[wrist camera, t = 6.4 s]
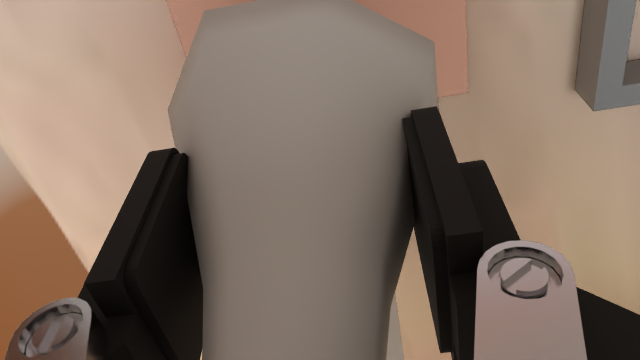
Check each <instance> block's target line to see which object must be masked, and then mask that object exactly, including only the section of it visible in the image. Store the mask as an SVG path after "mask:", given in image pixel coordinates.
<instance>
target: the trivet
mask: <svg viewBox="0 0 640 360" xmlns="http://www.w3.org/2000/svg"><path fill="white" fill-rule="evenodd" d="M166 1H167V4H168V6H169V9H170V12H171V15H172V18H173V21H174V23H175V26H176V29H177V32H178V35H179V38H180V40H181V43H182V46H183V49H184V52H185V55H186V57H187V56H188V53H189V50H190V47H191V45H192V42H193V39H194V36H195V33H196V31H197V28H198V25H199V22H200V20H201V17H202V14H203V11H205V10H210V9H215V8H220V7H226V6H231V5H236V4H241V3H247V2H252V1H257V0H166ZM353 1H355V2H357V3H359V4H361V5H363V6H365V7H367V8H369V9H371V10H373V11H374V12H376V13H378V14H380V15H382V16H384V17H386V18H388V19H390V20H392V21H394V22H396V23H398V24H400V25H402V26H404V27H406V28H408V29H410V30H412V31H414V32H416V33H418V34H420V35H422V36H424V37H426V38H428V39H430V40H432V41H434V42H435V58H436V74H437V90H438V97H444V96H450V95H457V94H463V93H468V76H467V29H466V0H353Z"/></svg>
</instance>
